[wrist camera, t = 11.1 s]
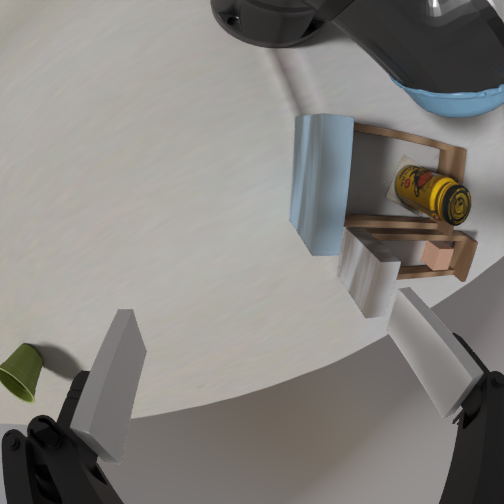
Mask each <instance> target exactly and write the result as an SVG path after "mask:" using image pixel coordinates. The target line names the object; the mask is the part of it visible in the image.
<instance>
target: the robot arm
mask: <svg viewBox="0 0 504 504" xmlns="http://www.w3.org/2000/svg"><path fill="white" fill-rule="evenodd" d="M211 8H212V12H213V15H214V17H215V19H216V21H217V22H218V23H219V25H220V26H221V27H222V28H223V29H224V30H225V31H226V32H228V33H229V34H230V35H232V36H233V37H235V38H237V39H239V40H241V41H243V42H246V43H249V44H252V45H255V46H260V47H268V48H282V47H289V46H293V45H297V44H300V43H302V42H304V41H306V40H308V39H310V38H311V37H312V36H314V35H315V34H316V33H317V32H318V31H319V30H320V29H321V28H322V27H323V25H324V24H325V22H326V21H327V20H329V21H330V22H331V23H332V24H333V25H335V26H336V27H337V28H339V29H340V30H341V31H342V32H344V33H345V34H346V35H347V36H348V37H350V38H351V39H352V40H353V41H354V42H356V43H357V44H358V45H359V46H360V47H361V48H362V49H363V50H364V51H365V52H367V53H368V54H369V55H370V56H371V57H372V58H373V59H374V60H375V61H376V62H377V63H378V64H379V65H380V66H381V67H382V68H383V69H384V70H385V71H386V72H387V73H388V74H389V76H390V78H391V80H392V81H393V82H394V83H395V84H396V85H398V86H399V87H401V88H403V89H404V90H405V91H406V92H407V93H408V94H409V96H410V97H411V98H412V99H413V100H414V101H415V102H416V103H417V104H418V105H419V106H420V107H422V108H423V109H425V110H426V111H428V112H432V113H435V114H437V115H439V116H443V117H450V118H466V117H472V116H477V115H481V114H484V113H487V112H490V111H492V110H494V109H496V108H497V107H499V106H501V105H502V104H503V103H504V0H211ZM386 330H387V331H388V333H389V334H390V336H391V337H392V339H393V340H394V342H395V343H396V345H397V346H398V348H399V349H400V351H401V352H402V354H403V355H404V357H405V358H406V360H407V361H408V363H409V364H410V366H411V367H412V369H413V371H414V372H415V374H416V375H417V377H418V379H419V380H420V382H421V383H422V385H423V387H424V388H425V390H426V391H427V393H428V395H429V397H430V398H431V400H432V402H433V403H434V405H435V406H436V408H437V410H438V412H439V413H440V415H441V417H442V419H444V418H445V417H447V416H449V415H451V414H453V413H455V411H456V410H457V409H458V408H459V406H460V405H461V406H462V408H463V409H462V411H461V412H460V413H459V414H458V415H457V417H456V418H455V419H454V420H453V423H452V424H455V422H456V421H457V420H458V419H459V422H458V423H457V425H458V431H457V437H456V442H455V447H454V452H453V457H452V461H451V465H450V469H449V473H448V477H447V480H446V483H445V487H444V490H443V493H442V496H441V499H440V502H439V504H504V375H503V374H502V373H500V372H498V371H492V372H490V371H489V370H488V369H487V368H486V366H485V365H484V364H483V363H482V361H481V360H480V359H479V358H478V356H477V355H476V354H475V353H474V352H473V350H472V349H471V348H470V347H469V346H468V344H467V343H466V342H465V341H464V340H463V339H462V338H461V337H460V336H458V335H457V334H455V333H451V332H450V331H449V330H448V328H447V327H446V326H445V325H444V324H443V323H442V322H441V321H440V319H438V317H437V316H436V315H435V314H434V313H433V312H432V311H431V310H430V308H429V307H428V306H427V305H426V304H425V303H424V302H423V301H422V300H421V299H420V298H419V297H418V296H417V295H416V293H415V292H414V291H413V290H412V289H411V288H410V287H408V288H401V289H398V292H397V296H396V300H395V303H394V307H393V310H392V313H391V316H390V320H389V323H388V326H387V329H386ZM146 352H147V351H146V348H145V345H144V342H143V340H142V337H141V334H140V331H139V328H138V325H137V321H136V318H135V315H134V312H133V309H118V311H117V313H116V315H115V317H114V320H113V322H112V324H111V326H110V328H109V330H108V332H107V334H106V337H105V339H104V341H103V343H102V345H101V348H100V350H99V352H98V355H97V357H96V359H95V362H94V364H93V366H92V369H91V371H83V370H82V371H81V372H80V373H79V374H78V375H77V376H76V377H75V378H74V380H73V382H72V384H71V387H70V390H69V392H68V394H67V398H66V399H65V401H64V404H63V406H62V409H61V412H60V414H59V417H58V420H57V422H55V421H54V420H53V419H52V418H51V417H49V416H46V415H40V416H36V417H35V418H33V419H32V420H31V422H30V423H29V425H28V428H27V434H28V437H25V436H24V435H23V434H22V433H21V432H20V431H18V430H16V429H12V430H9V431H8V432H7V433H5V434H4V436H3V439H2V463H3V476H4V485H5V493H6V499H7V504H124V503H123V502H122V501H121V499H120V498H119V496H118V495H117V493H116V492H115V490H114V489H113V487H112V486H111V484H110V483H109V481H108V479H107V478H106V476H105V474H104V473H103V471H102V470H101V468H100V466H99V465H98V464H97V457H98V456H99V457H100V458H101V459H102V460H103V461H105V462H109V463H114V464H120V465H121V463H122V458H123V452H124V447H125V441H126V436H127V431H128V427H129V421H130V417H131V413H132V408H133V404H134V399H135V395H136V391H137V387H138V383H139V379H140V375H141V371H142V367H143V363H144V359H145V356H146Z"/></svg>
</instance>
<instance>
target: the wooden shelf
mask: <svg viewBox="0 0 504 504" xmlns="http://www.w3.org/2000/svg"><path fill="white" fill-rule="evenodd" d="M353 131H357V132H363V133H369V134H375V135H381V136H386V137H391V138H396V139H401V140H405V141H410V142H414V143H418V144H423V145H427V146H431V147H434V148H438V149H440V158H439V166H438V174H441V175H443V176H447V177H450V178H451V179H453V180H454V181H455V182H456V183H458V184H459V185H462V183H463V177H464V169H465V161H466V152H467V149H464V148H460V147H456V146H451V145H448V144H445V143H441V142H438V141H434V140H431V139H427V138H423V137H419V136H416V135H411V134H407V133H403V132H399V131H394V130H389V129H385V128H380V127H374V126H369V125H363V124H357V123H354V118H352V117H346V116H339V115H332V114H315V115H307V116H300V117H295V141H294V162H293V180H292V197H291V212H290V221H291V223H292V224H293V226H294V228H295V229H296V231H297V232H298V234H299V236H300V237H301V239H302V240H303V242H304V244H305V245H306V247H307V248H308V250H309V252H310V253H311V255H312V256H330V255H339V253H340V247H341V240H342V234H343V227H380V228H415V229H437V230H439V231H440V232H442V233H443V234H445V235H446V236H452V232H453V228H454V226H453V225H450V224H448V223H447V222H444V221H438V220H436V219H434V218H432V217H430V219H429V218H413V217H395V216H373V215H346V214H345V212H346V205H347V196H348V187H349V178H350V167H351V156H352V142H353Z"/></svg>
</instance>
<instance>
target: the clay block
mask: <svg viewBox="0 0 504 504" xmlns="http://www.w3.org/2000/svg"><path fill="white" fill-rule="evenodd" d="M453 251H454V249H453V248H452V247H451V246H449V245H448V244H446V243H445V242H443V241H426V244H425V248H424V252H423V255H422V259H421V260H422V261H423V262H424V263H425V264H426V265H427V266H429V267H430V268H431V269H432V270H433V271H434V270H448V267H449V264H450V261H451V258H452V255H453Z"/></svg>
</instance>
